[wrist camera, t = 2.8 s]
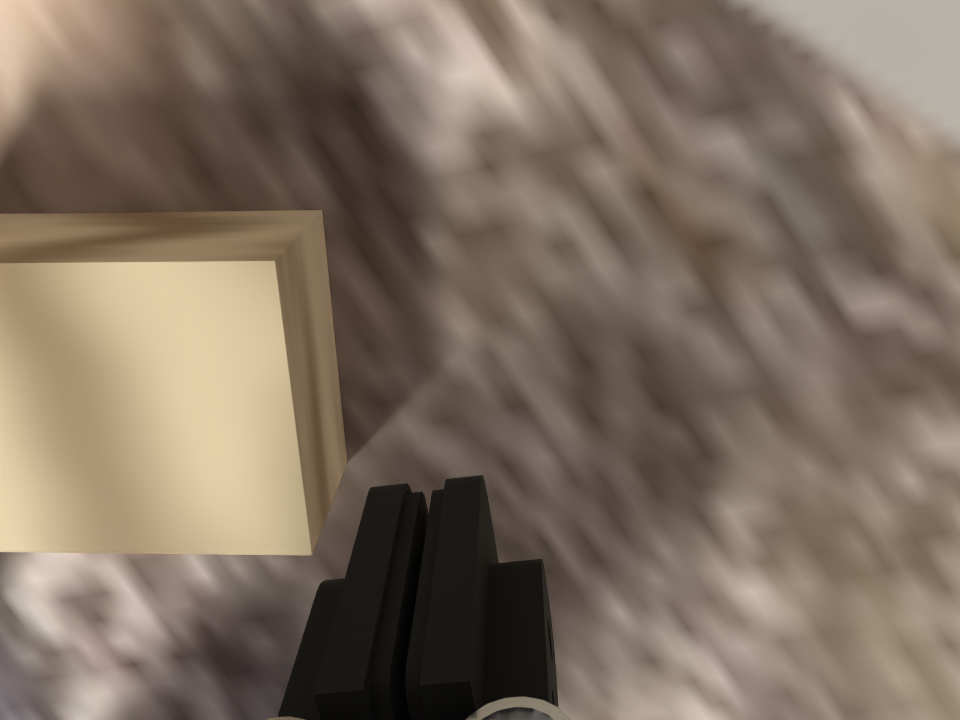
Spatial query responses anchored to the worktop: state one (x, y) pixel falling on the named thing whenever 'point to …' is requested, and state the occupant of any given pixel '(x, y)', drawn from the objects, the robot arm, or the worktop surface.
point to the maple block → (167, 383)
